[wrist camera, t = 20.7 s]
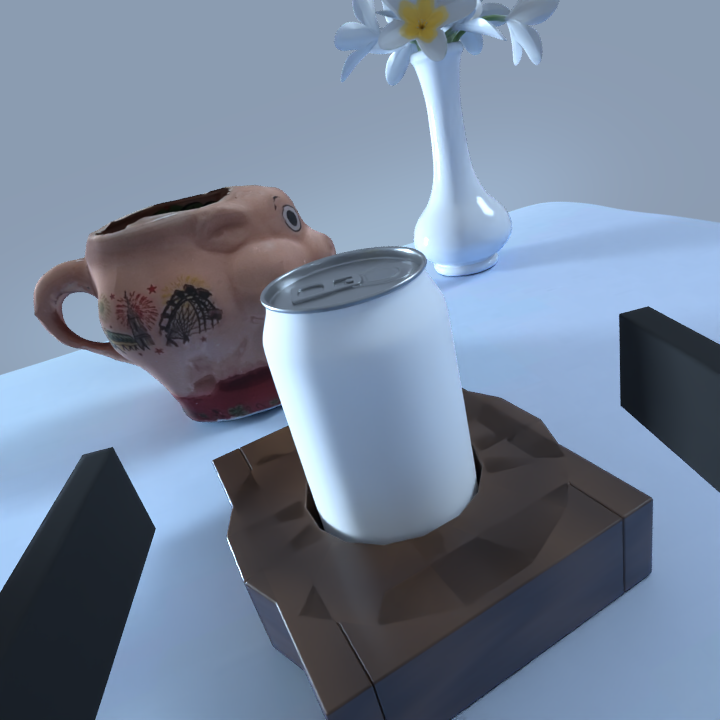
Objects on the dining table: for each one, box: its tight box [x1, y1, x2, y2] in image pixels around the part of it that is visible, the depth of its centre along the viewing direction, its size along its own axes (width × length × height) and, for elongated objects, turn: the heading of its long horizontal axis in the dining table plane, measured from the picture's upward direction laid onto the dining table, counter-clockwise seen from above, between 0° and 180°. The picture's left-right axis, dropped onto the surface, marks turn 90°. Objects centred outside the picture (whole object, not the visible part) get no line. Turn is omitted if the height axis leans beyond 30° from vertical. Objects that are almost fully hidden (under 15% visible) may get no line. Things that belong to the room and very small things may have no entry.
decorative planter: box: [34, 185, 336, 422], centre depth 36 cm, size 20×12×14 cm, turn 99°
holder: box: [212, 388, 653, 720], centre depth 22 cm, size 13×14×4 cm
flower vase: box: [334, 0, 559, 276], centre depth 48 cm, size 13×18×25 cm
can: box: [260, 246, 478, 545], centre depth 20 cm, size 6×6×12 cm
